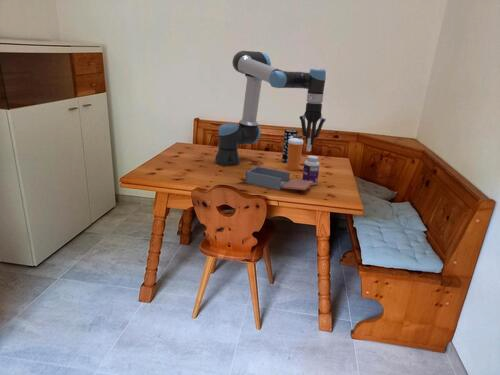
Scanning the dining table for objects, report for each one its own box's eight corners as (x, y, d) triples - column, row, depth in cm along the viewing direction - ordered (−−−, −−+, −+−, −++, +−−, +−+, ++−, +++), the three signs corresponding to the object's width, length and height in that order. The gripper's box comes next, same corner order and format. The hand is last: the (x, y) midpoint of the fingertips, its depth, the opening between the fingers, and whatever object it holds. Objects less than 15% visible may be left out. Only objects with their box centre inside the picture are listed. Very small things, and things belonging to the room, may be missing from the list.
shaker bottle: (300, 171, 204) (303, 137, 198) (284, 169, 206) (288, 136, 199) (300, 167, 213) (304, 135, 206) (286, 165, 214) (289, 133, 207)
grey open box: (245, 182, 179) (245, 171, 177) (256, 176, 190) (257, 166, 188) (279, 190, 171) (280, 178, 169) (288, 183, 182) (290, 172, 180)
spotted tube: (296, 161, 226) (299, 130, 219) (293, 164, 219) (296, 132, 212) (283, 159, 228) (286, 129, 222) (280, 162, 221) (283, 131, 214)
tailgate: (280, 185, 170) (304, 188, 164) (290, 178, 181) (313, 180, 176) (280, 187, 170) (304, 190, 165) (290, 180, 182) (313, 182, 176)
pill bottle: (300, 180, 188) (303, 154, 183) (314, 181, 189) (318, 155, 184) (303, 185, 180) (306, 158, 175) (318, 186, 181) (322, 159, 176)
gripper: (298, 101, 167) (293, 150, 174) (325, 104, 161) (318, 154, 169) (304, 100, 173) (299, 147, 181) (329, 103, 167) (323, 151, 175)
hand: (308, 150), depth 175 cm, fingers closed
